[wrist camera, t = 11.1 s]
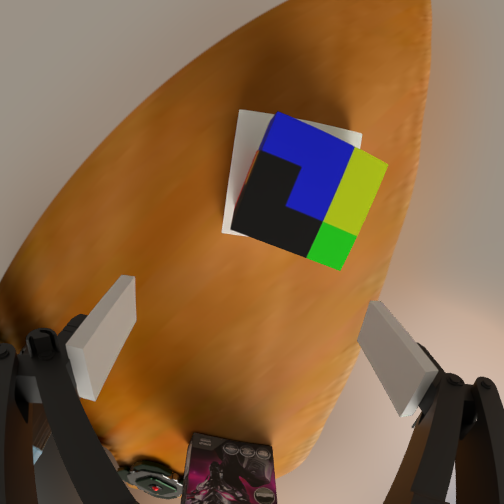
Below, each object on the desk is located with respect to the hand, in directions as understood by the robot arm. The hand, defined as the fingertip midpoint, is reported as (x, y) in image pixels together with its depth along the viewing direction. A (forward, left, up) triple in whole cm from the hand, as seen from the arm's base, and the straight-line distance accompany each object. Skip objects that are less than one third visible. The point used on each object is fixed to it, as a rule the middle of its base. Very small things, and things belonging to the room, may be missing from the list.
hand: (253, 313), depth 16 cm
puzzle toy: (+4, +6, -20) cm, 21 cm away
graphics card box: (+3, -47, -24) cm, 53 cm away
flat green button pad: (-14, -69, -24) cm, 75 cm away
